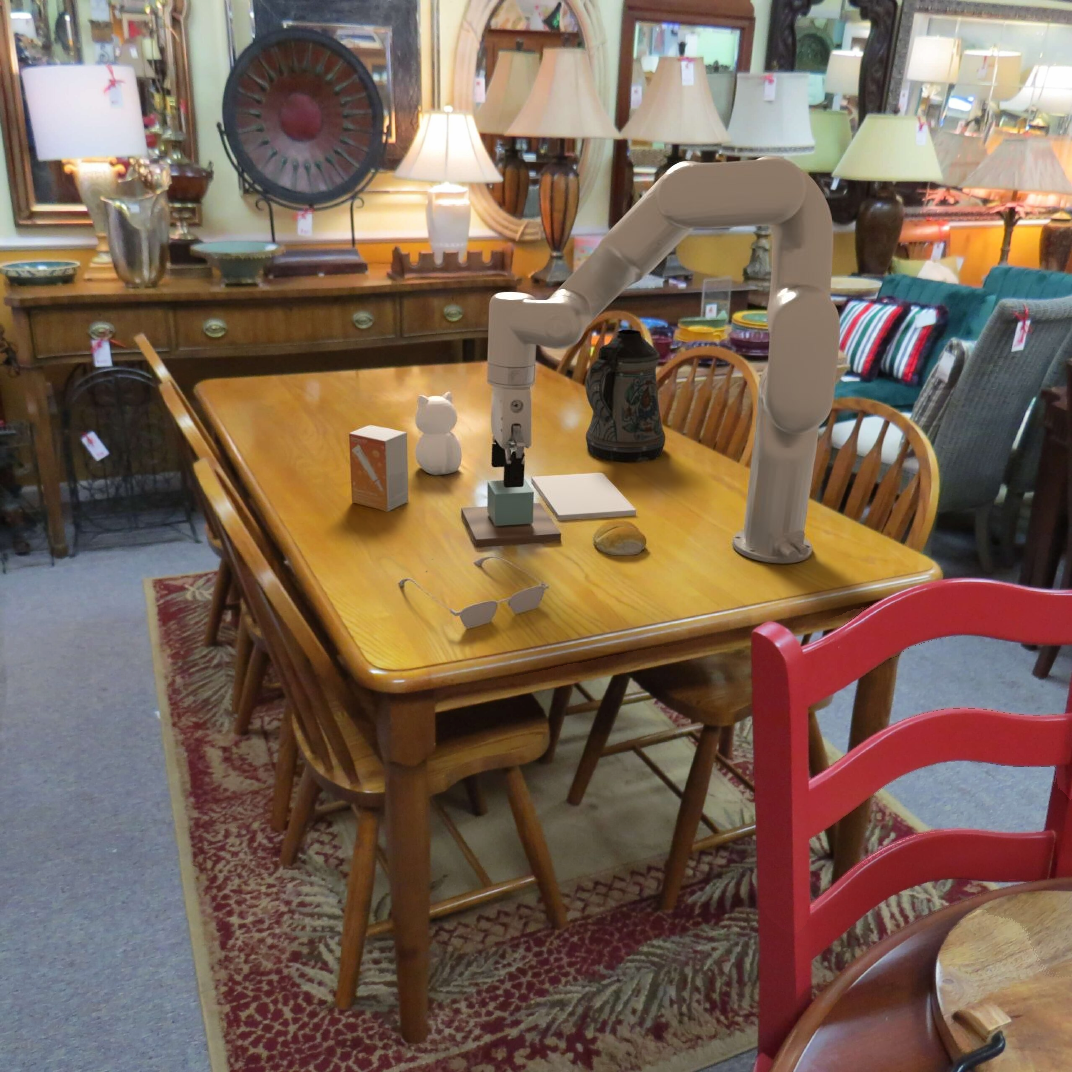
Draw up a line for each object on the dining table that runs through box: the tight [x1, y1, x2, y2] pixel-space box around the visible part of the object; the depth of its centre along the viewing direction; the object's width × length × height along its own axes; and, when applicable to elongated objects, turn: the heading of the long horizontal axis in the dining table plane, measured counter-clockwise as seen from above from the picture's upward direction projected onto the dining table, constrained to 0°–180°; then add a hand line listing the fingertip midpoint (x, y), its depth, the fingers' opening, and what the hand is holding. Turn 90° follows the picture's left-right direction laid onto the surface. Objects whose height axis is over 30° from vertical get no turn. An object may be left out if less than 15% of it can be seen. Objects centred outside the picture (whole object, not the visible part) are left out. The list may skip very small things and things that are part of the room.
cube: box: [486, 478, 535, 526], centre depth 163 cm, size 6×6×6 cm
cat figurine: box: [414, 391, 463, 476], centre depth 188 cm, size 9×12×15 cm
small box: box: [348, 424, 409, 513], centre depth 172 cm, size 8×6×13 cm
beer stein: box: [584, 329, 666, 464], centre depth 199 cm, size 16×19×25 cm
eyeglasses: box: [397, 555, 549, 630], centre depth 141 cm, size 15×18×4 cm
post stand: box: [460, 502, 562, 549], centre depth 163 cm, size 14×14×6 cm
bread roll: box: [592, 519, 647, 557], centre depth 159 cm, size 8×9×4 cm
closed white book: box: [530, 472, 637, 522], centre depth 179 cm, size 20×14×1 cm
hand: (507, 476), depth 161 cm, fingers open, 9 cm apart
